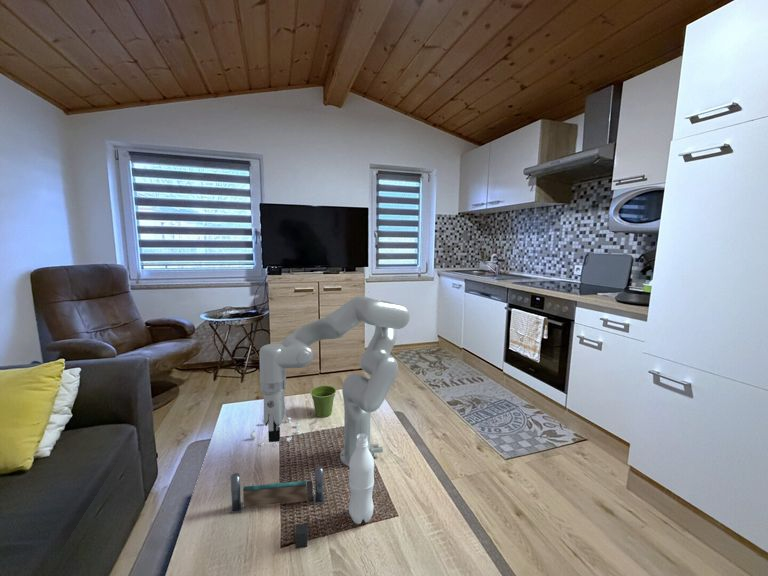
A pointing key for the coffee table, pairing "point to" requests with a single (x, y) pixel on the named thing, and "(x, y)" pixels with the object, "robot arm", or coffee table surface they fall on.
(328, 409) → the plant pot
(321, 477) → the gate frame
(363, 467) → the water bottle
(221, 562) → the coffee table surface
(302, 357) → the robot arm
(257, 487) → the gate
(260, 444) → the scattered white fragments
